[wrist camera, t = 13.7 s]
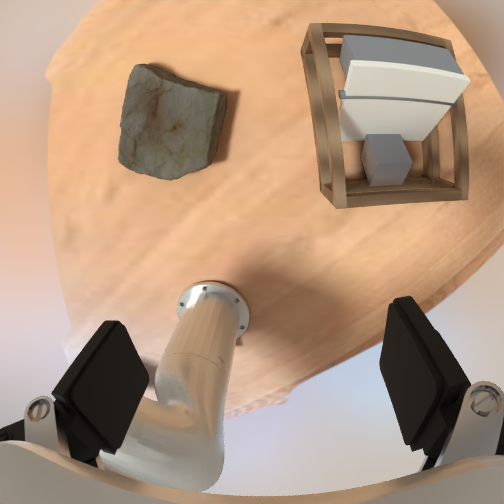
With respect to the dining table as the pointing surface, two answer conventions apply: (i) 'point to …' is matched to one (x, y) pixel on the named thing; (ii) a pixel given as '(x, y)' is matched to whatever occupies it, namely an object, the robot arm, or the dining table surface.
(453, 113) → the walnut hatch frame
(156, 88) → the marble piece
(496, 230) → the dining table surface
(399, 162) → the basalt block
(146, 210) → the dining table surface
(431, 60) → the hatch leaf
